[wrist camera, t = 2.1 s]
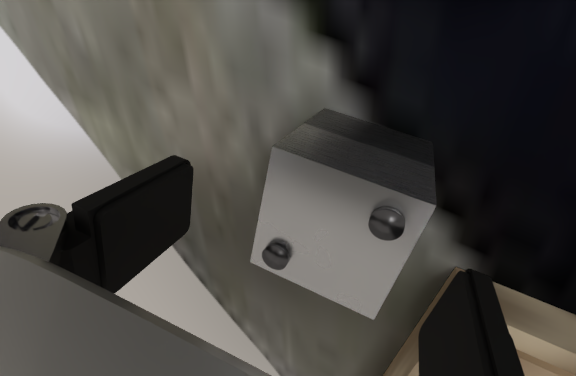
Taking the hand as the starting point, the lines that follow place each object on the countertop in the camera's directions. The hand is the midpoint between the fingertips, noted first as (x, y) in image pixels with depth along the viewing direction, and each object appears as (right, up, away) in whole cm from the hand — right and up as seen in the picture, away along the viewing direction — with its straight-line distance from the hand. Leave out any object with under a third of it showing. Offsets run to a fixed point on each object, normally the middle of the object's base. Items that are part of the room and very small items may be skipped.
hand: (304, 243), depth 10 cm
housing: (+3, +3, +5) cm, 6 cm away
